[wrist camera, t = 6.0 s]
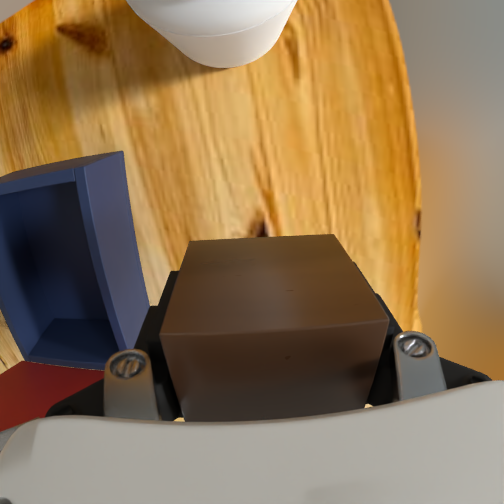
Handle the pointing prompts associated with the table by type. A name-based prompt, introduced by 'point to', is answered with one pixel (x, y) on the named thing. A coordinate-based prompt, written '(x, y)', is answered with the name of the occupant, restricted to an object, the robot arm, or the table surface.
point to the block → (271, 330)
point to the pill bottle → (217, 27)
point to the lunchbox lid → (38, 389)
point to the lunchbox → (70, 262)
